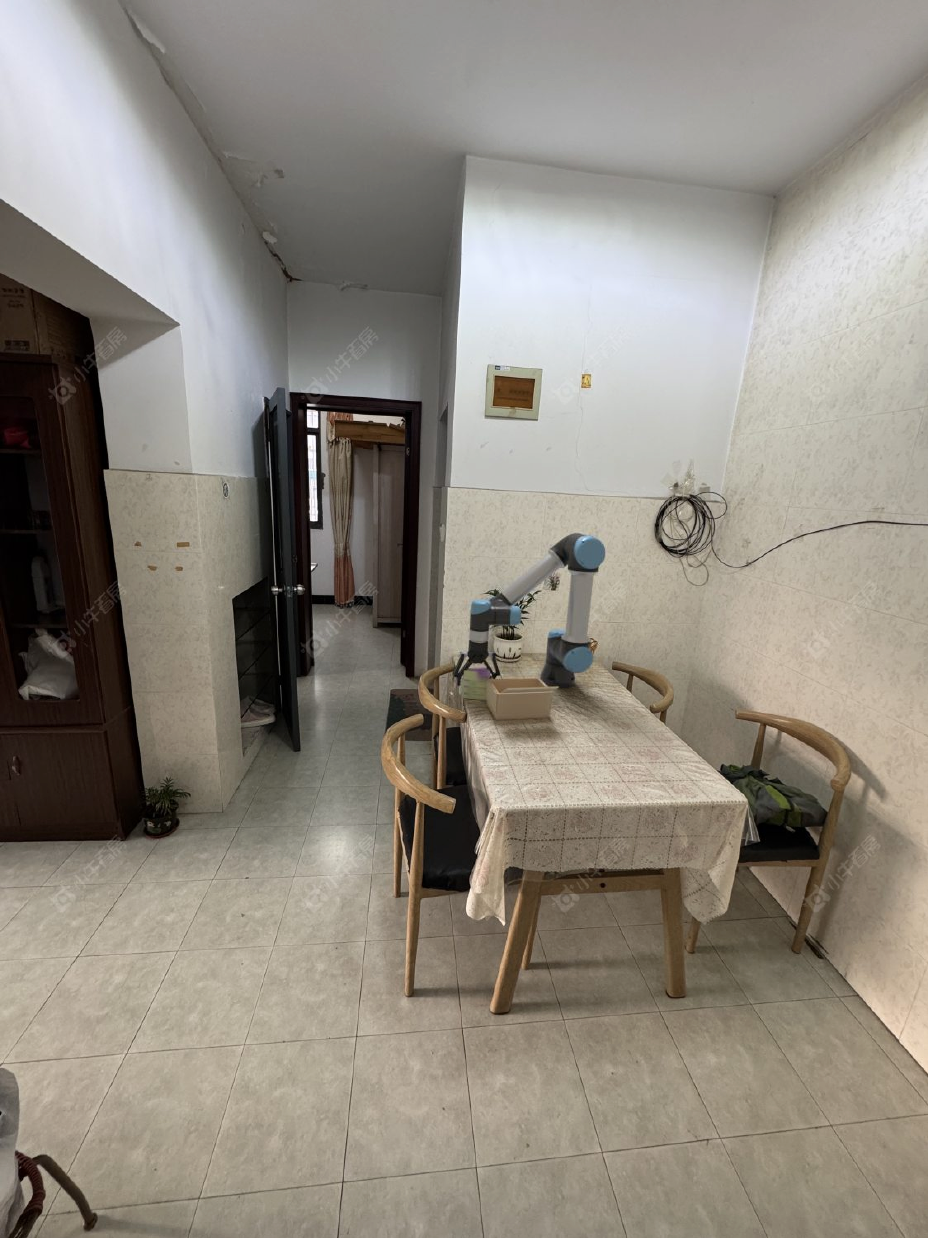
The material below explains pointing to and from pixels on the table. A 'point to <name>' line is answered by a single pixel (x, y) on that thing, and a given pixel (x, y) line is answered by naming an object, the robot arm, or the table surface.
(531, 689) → the flap
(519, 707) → the carton
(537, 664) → the table surface
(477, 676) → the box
